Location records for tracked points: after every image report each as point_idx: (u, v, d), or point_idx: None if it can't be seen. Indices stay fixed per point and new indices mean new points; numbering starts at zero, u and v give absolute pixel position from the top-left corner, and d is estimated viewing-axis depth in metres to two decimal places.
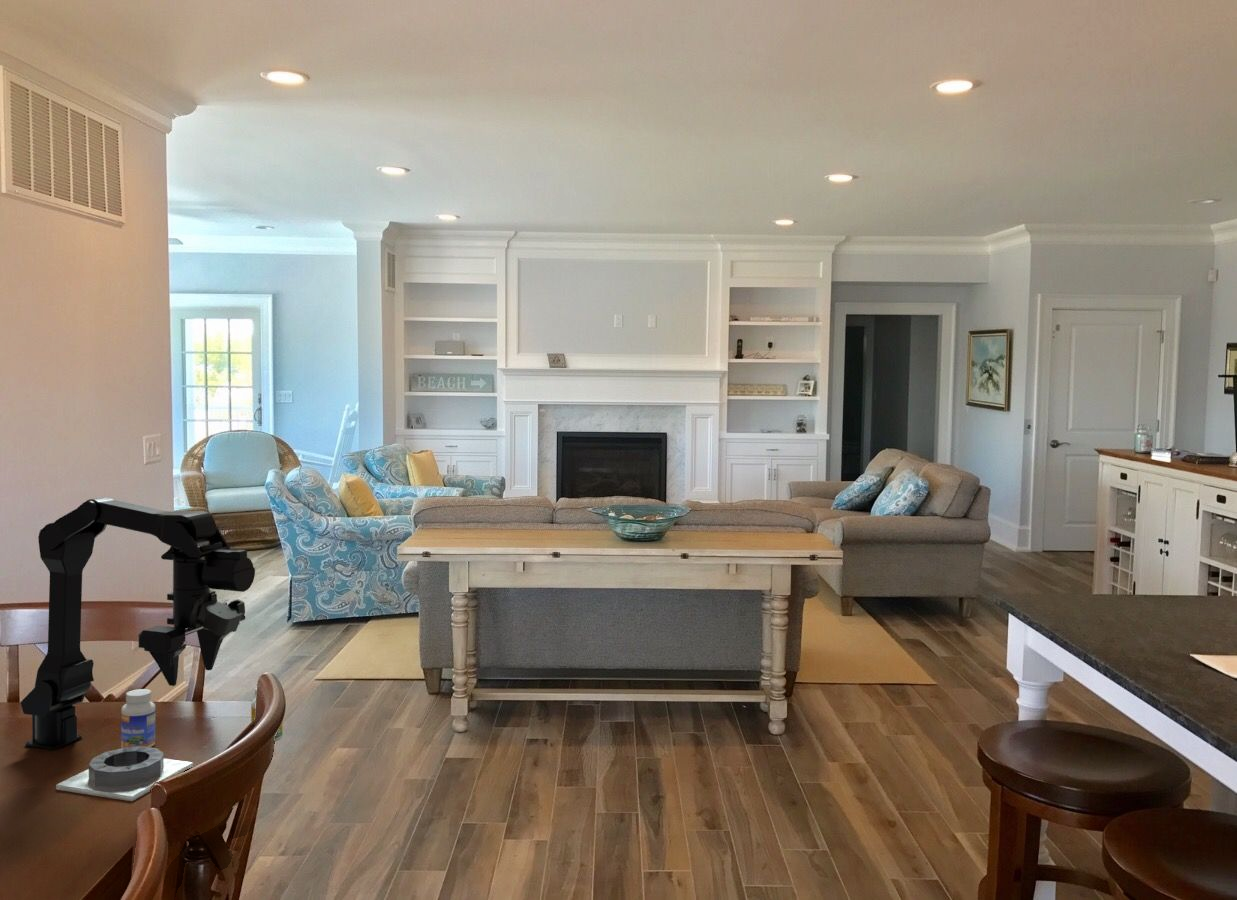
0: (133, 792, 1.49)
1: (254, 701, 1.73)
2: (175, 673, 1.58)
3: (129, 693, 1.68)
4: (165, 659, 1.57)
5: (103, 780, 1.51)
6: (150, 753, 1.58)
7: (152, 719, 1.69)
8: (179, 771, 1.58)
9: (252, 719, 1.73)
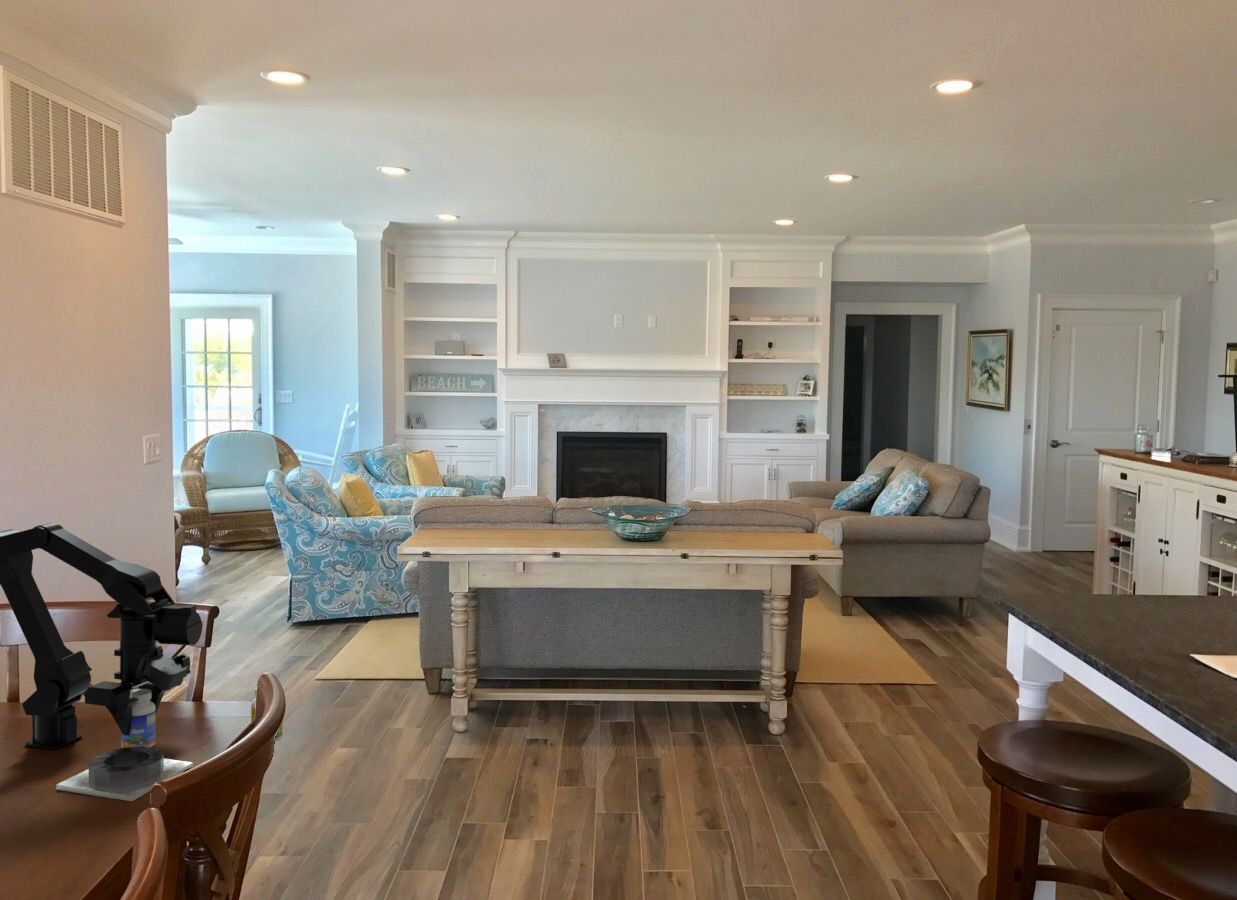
0: (133, 792, 1.49)
1: (254, 701, 1.73)
2: (129, 723, 1.66)
3: None
4: (119, 710, 1.65)
5: (103, 780, 1.51)
6: (150, 753, 1.58)
7: (152, 719, 1.69)
8: (179, 771, 1.58)
9: (252, 719, 1.73)
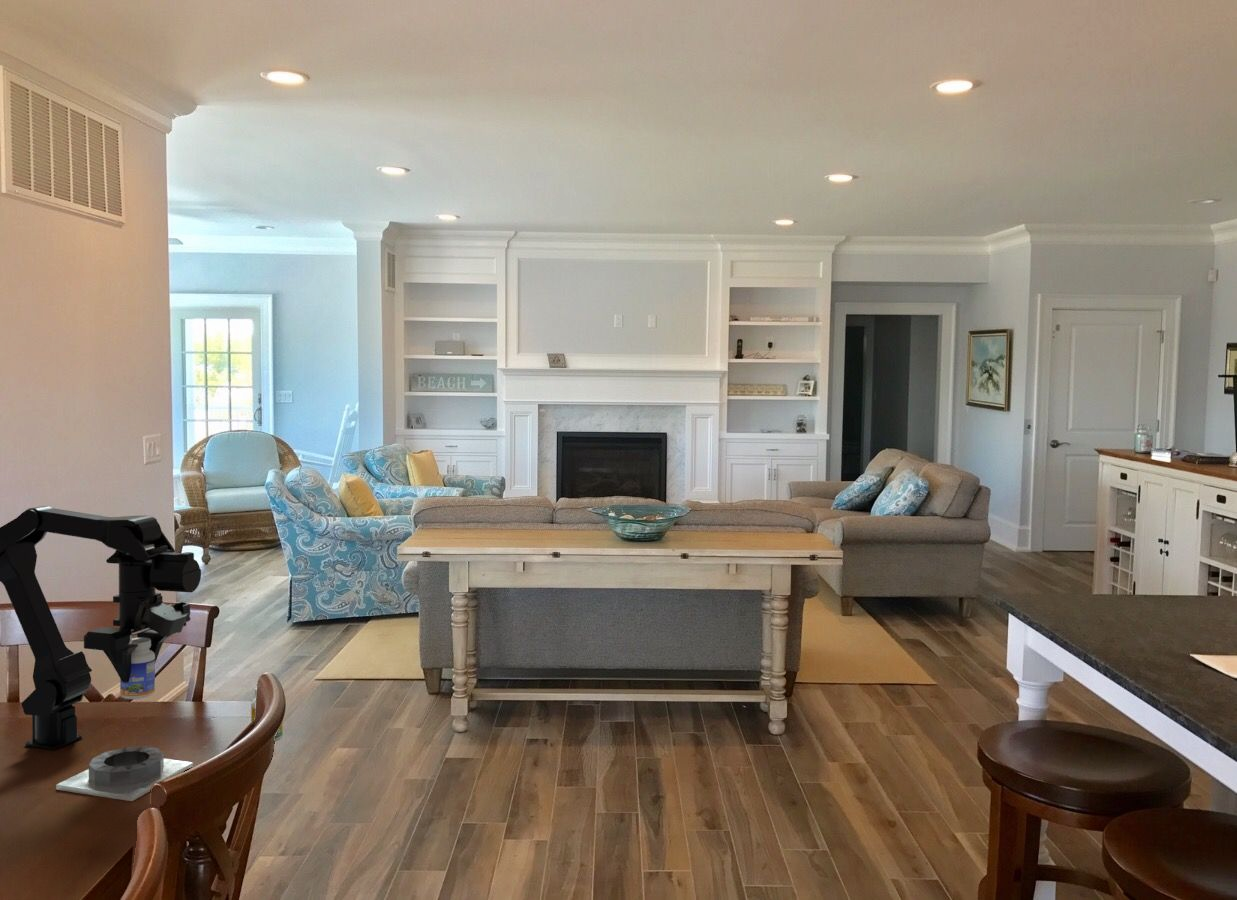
0: (133, 792, 1.49)
1: (254, 701, 1.73)
2: (128, 670, 1.64)
3: None
4: (118, 657, 1.63)
5: (103, 780, 1.51)
6: (150, 753, 1.58)
7: (152, 667, 1.67)
8: (179, 771, 1.58)
9: (252, 719, 1.73)
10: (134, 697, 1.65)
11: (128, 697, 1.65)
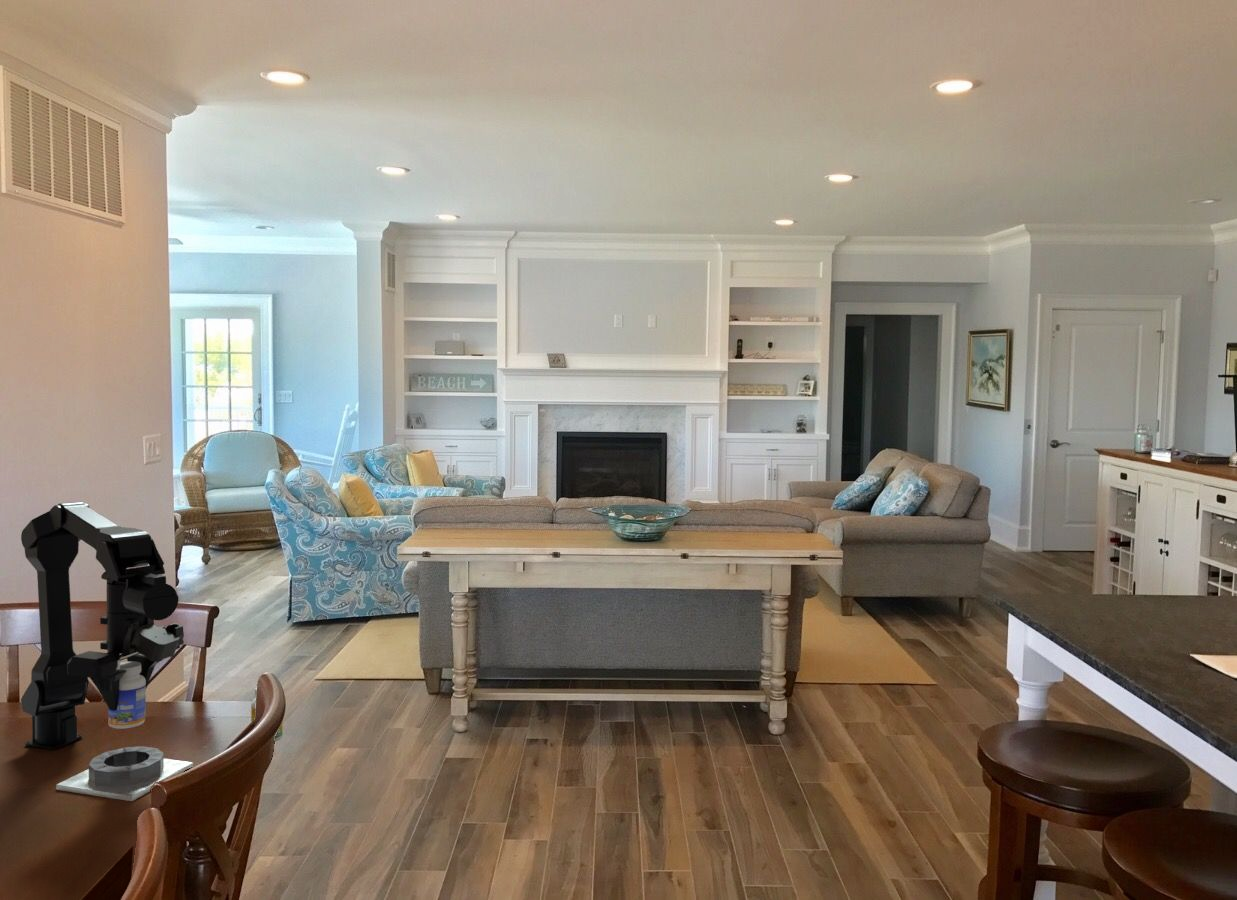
0: (133, 792, 1.49)
1: (254, 701, 1.73)
2: (116, 697, 1.52)
3: None
4: (105, 683, 1.51)
5: (103, 780, 1.51)
6: (150, 753, 1.58)
7: (142, 694, 1.55)
8: (179, 771, 1.58)
9: (252, 719, 1.73)
10: (123, 726, 1.53)
11: (116, 726, 1.53)
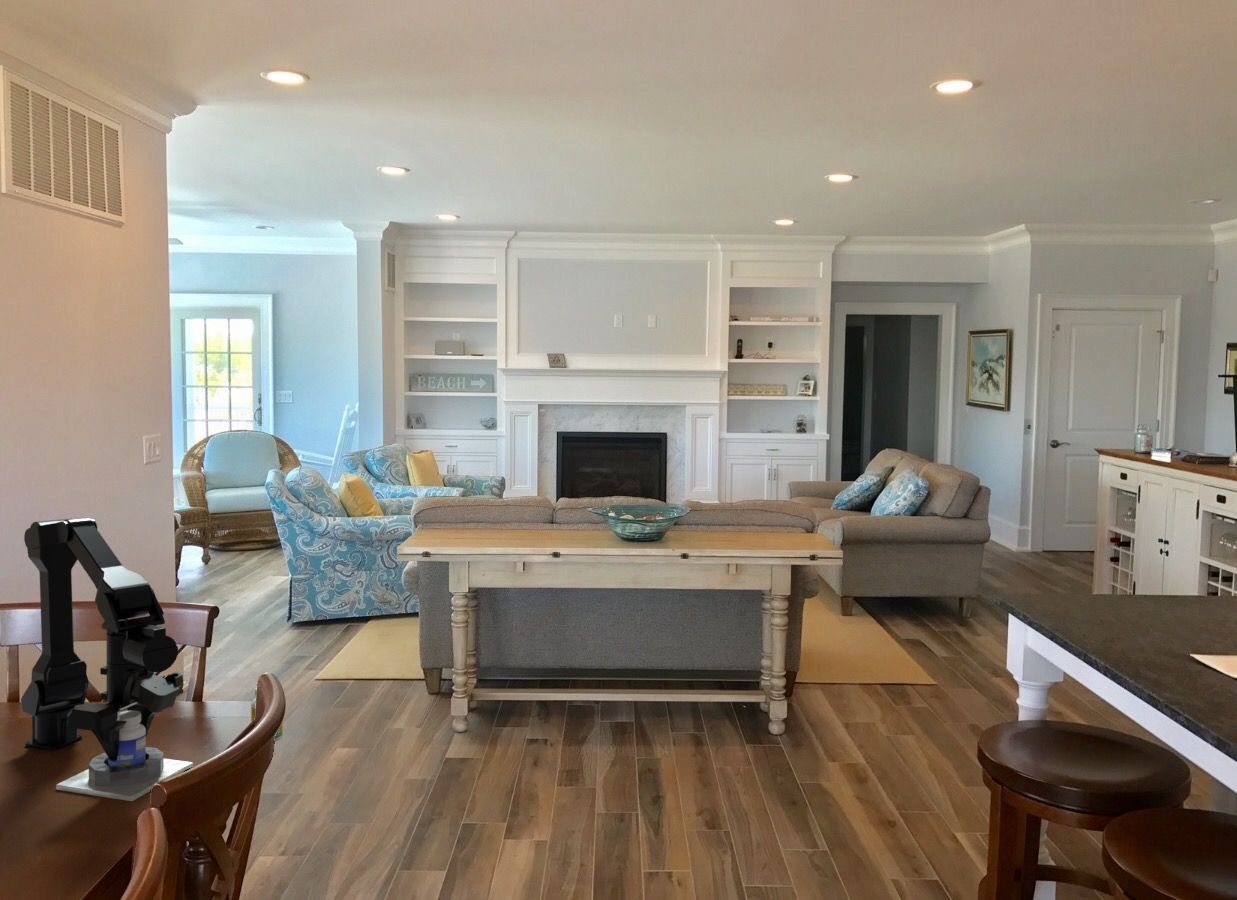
0: (133, 792, 1.49)
1: (254, 701, 1.73)
2: (116, 748, 1.53)
3: None
4: (105, 734, 1.52)
5: (103, 780, 1.51)
6: (150, 753, 1.58)
7: (142, 743, 1.56)
8: (179, 771, 1.58)
9: (252, 719, 1.73)
10: None
11: None
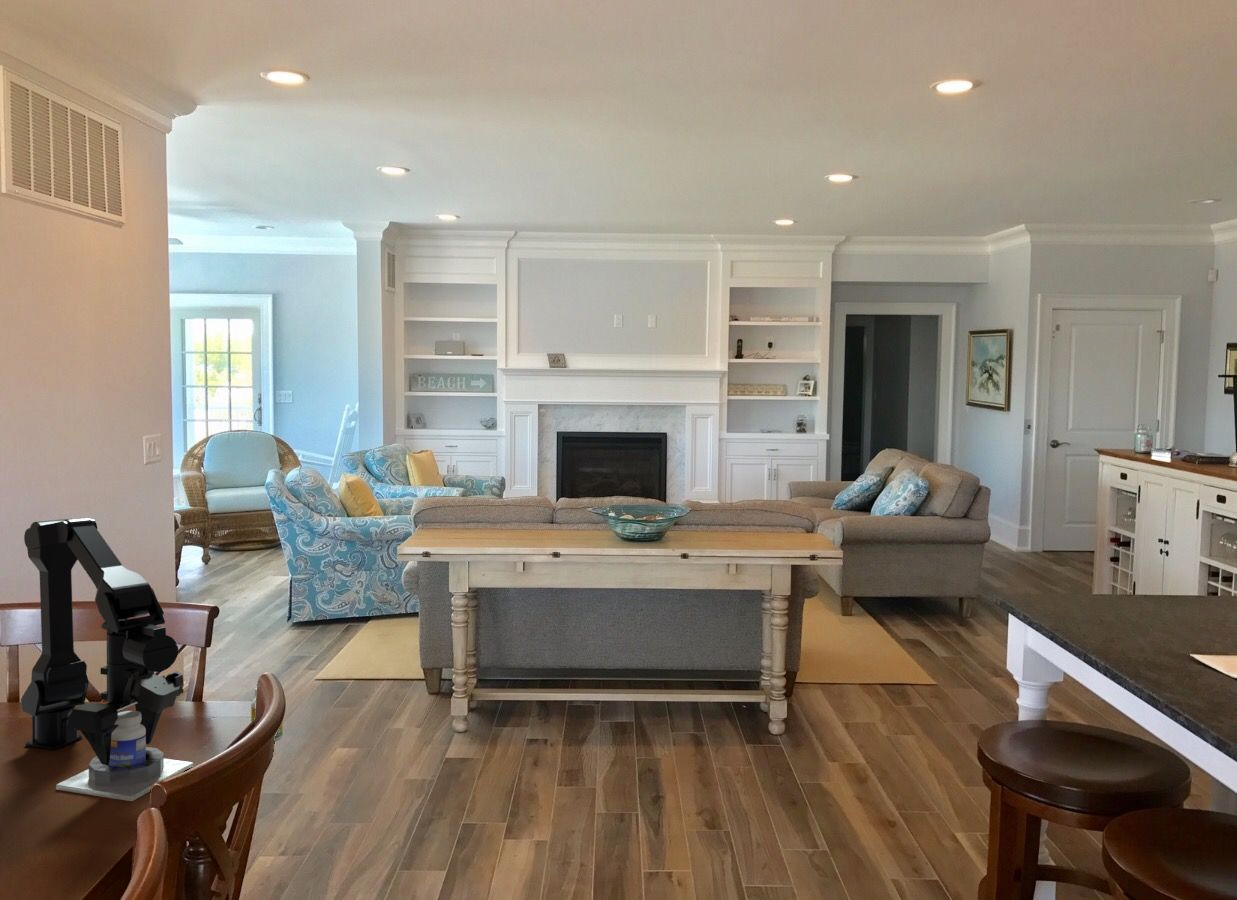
0: (133, 792, 1.49)
1: (254, 701, 1.73)
2: (108, 752, 1.51)
3: None
4: (97, 737, 1.50)
5: (103, 780, 1.51)
6: (150, 753, 1.58)
7: (142, 743, 1.56)
8: (179, 771, 1.58)
9: (252, 719, 1.73)
10: None
11: None
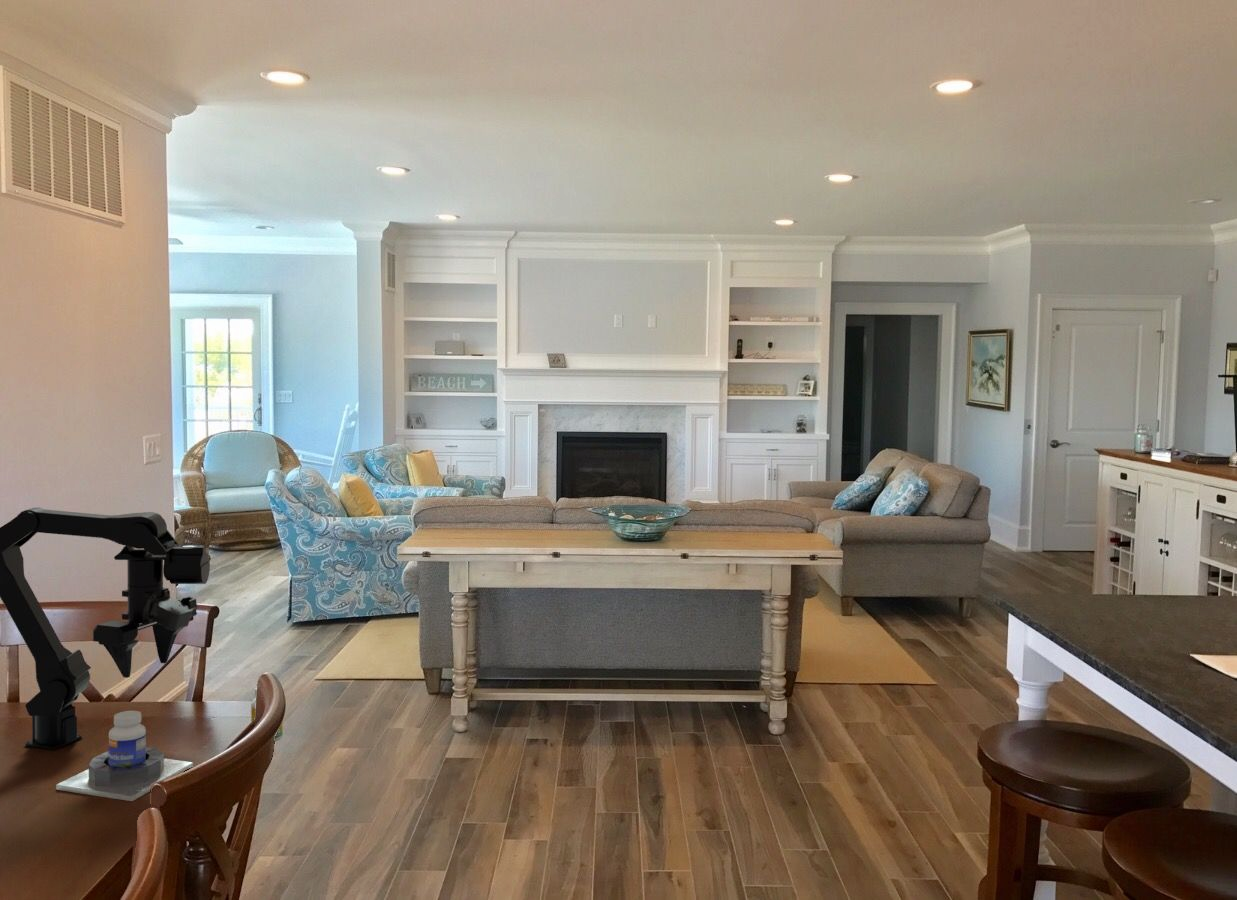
0: (133, 792, 1.49)
1: (254, 701, 1.73)
2: (129, 665, 1.67)
3: (117, 715, 1.55)
4: (119, 652, 1.66)
5: (103, 780, 1.51)
6: (150, 753, 1.58)
7: (142, 743, 1.56)
8: (179, 771, 1.58)
9: (252, 719, 1.73)
10: None
11: None
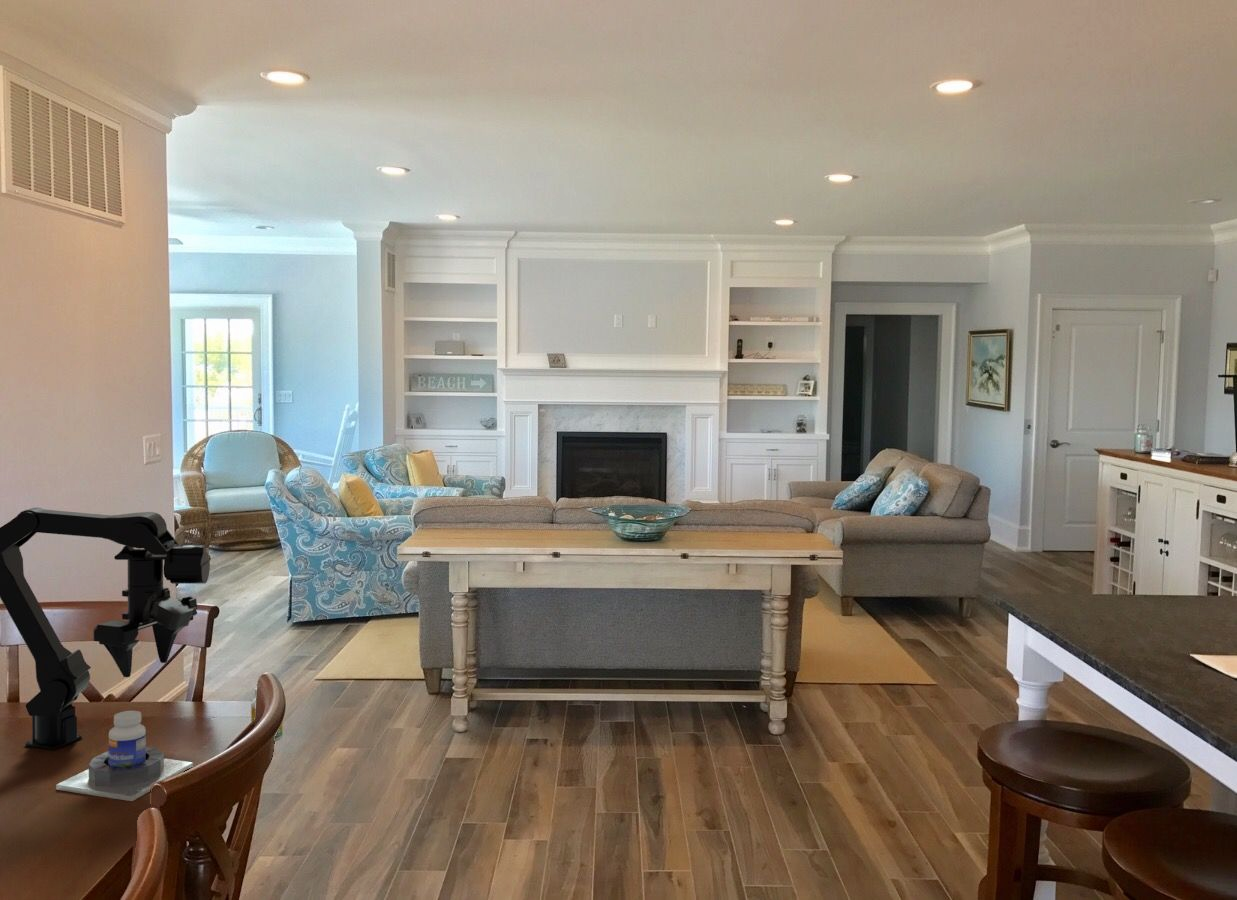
0: (133, 792, 1.49)
1: (254, 701, 1.73)
2: (129, 665, 1.67)
3: (117, 715, 1.55)
4: (119, 652, 1.66)
5: (103, 780, 1.51)
6: (150, 753, 1.58)
7: (142, 743, 1.56)
8: (179, 771, 1.58)
9: (252, 719, 1.73)
10: None
11: None
